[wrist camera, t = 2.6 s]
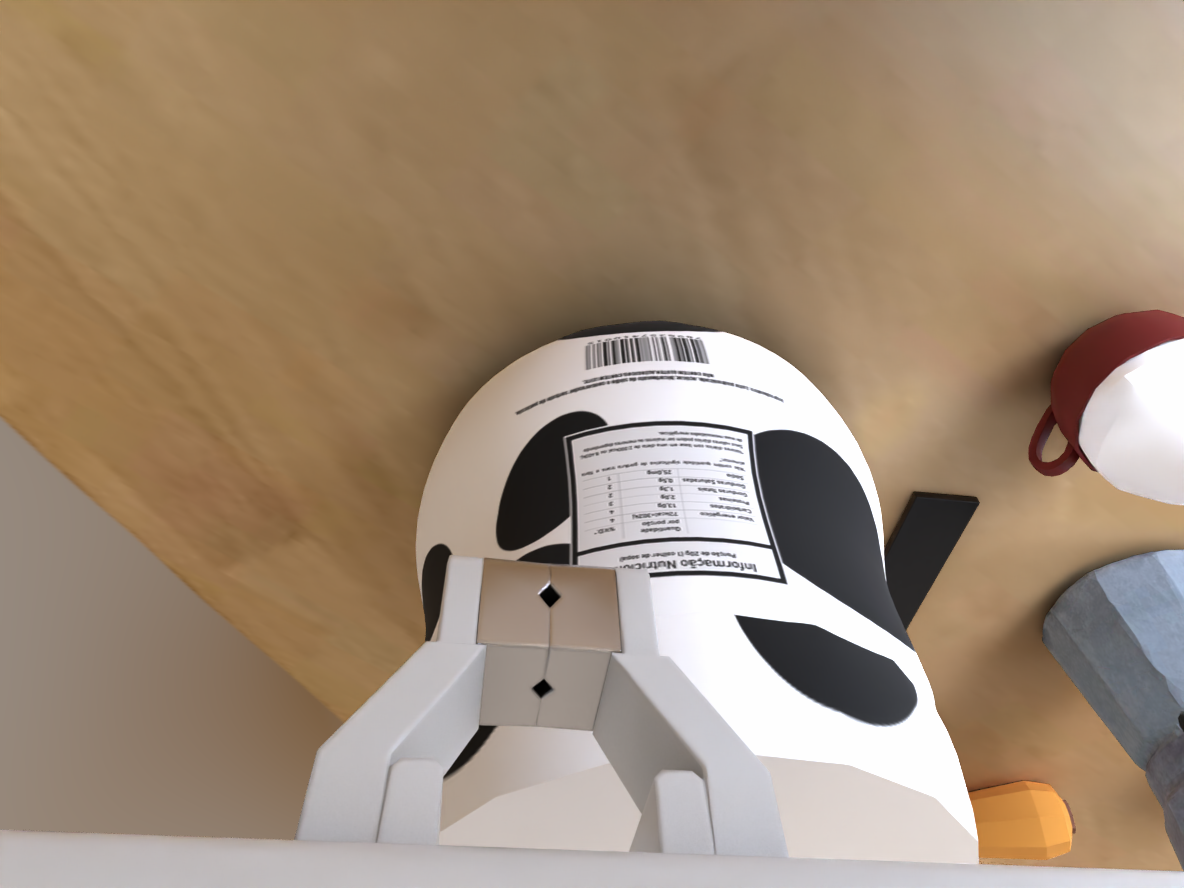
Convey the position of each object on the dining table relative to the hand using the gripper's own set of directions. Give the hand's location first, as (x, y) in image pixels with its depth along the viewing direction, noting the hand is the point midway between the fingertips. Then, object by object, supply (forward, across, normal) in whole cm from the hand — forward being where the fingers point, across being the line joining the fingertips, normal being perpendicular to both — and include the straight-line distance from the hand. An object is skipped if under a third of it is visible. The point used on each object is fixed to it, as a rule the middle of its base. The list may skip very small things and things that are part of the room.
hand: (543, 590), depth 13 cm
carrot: (+20, -27, +40) cm, 52 cm away
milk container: (+19, -5, +12) cm, 23 cm away
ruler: (+19, -19, +26) cm, 37 cm away
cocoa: (+19, -23, +4) cm, 30 cm away
